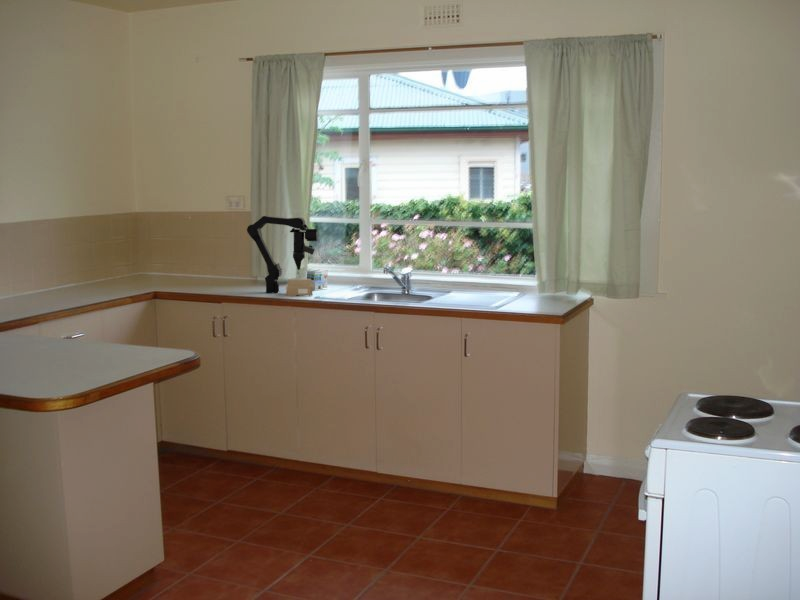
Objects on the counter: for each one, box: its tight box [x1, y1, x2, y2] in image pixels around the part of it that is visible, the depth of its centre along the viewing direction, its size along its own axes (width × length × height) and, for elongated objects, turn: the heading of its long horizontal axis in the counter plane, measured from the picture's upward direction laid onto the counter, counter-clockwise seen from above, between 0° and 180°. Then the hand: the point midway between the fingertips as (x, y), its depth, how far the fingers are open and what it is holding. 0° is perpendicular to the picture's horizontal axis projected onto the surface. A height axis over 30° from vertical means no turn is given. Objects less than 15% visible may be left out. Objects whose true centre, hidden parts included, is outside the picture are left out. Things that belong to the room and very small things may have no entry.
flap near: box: [287, 278, 311, 286], centre depth 461 cm, size 12×5×1 cm
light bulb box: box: [306, 269, 328, 291], centre depth 491 cm, size 11×7×11 cm, turn 143°
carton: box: [286, 283, 313, 297], centre depth 469 cm, size 14×11×5 cm
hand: (298, 269), depth 472 cm, fingers closed
